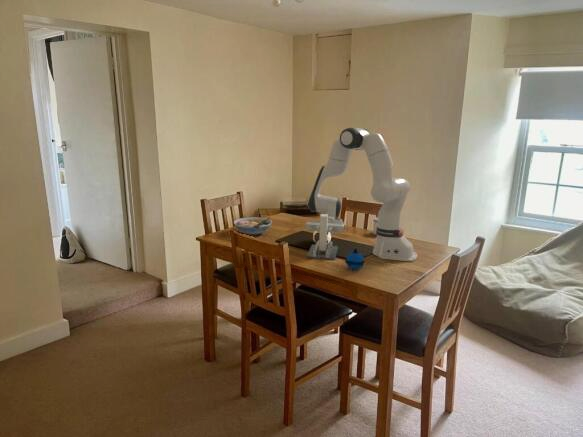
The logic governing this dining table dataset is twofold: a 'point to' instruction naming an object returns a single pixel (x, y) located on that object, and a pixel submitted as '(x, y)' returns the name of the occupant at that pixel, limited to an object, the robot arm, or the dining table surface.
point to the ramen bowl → (252, 225)
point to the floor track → (322, 252)
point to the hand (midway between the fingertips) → (323, 230)
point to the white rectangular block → (323, 232)
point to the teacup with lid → (375, 225)
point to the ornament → (354, 260)
